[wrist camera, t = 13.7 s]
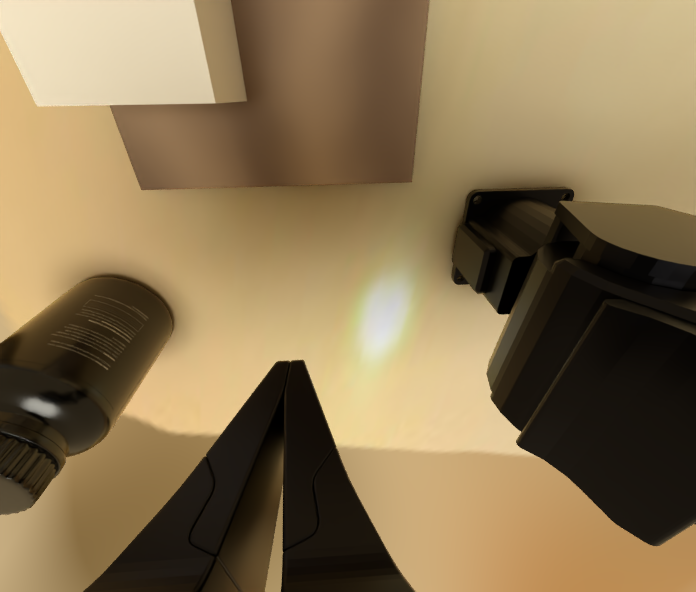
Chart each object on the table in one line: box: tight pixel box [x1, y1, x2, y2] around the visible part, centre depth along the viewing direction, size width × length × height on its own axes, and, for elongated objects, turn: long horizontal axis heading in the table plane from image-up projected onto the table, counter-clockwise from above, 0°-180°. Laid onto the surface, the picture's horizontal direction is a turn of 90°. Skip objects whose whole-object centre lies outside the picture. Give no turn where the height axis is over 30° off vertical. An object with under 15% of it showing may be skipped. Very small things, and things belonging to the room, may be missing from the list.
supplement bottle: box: [0, 277, 172, 515], centre depth 17 cm, size 7×7×12 cm
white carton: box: [0, 0, 247, 106], centre depth 11 cm, size 6×6×5 cm
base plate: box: [110, 0, 429, 190], centre depth 14 cm, size 15×14×1 cm
